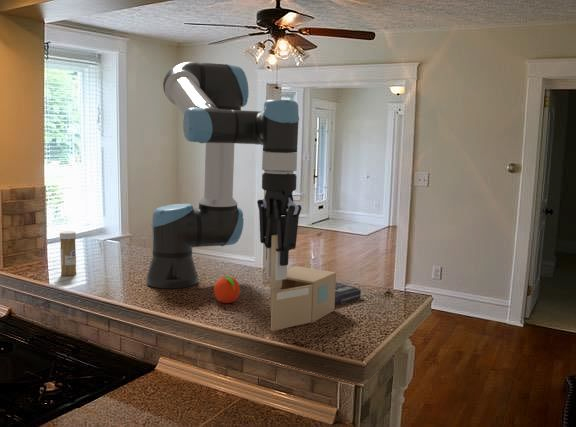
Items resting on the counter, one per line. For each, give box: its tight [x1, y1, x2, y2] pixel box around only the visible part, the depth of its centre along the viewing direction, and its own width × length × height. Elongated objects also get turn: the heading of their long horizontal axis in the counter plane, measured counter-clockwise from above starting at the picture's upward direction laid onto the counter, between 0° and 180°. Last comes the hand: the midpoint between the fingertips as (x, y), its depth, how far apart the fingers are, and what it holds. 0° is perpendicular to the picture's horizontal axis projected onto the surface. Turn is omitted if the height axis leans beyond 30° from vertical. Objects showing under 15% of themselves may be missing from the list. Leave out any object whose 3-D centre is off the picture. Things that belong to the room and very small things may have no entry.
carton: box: [269, 265, 337, 324], centre depth 135 cm, size 12×12×10 cm
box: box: [335, 282, 362, 306], centre depth 151 cm, size 14×4×20 cm
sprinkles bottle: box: [59, 230, 77, 277], centre depth 166 cm, size 5×5×14 cm
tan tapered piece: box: [269, 235, 312, 332], centre depth 122 cm, size 12×3×22 cm, turn 126°
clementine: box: [213, 275, 241, 304], centre depth 141 cm, size 8×7×7 cm
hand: (276, 277), depth 119 cm, fingers closed on tan tapered piece, 3 cm apart
